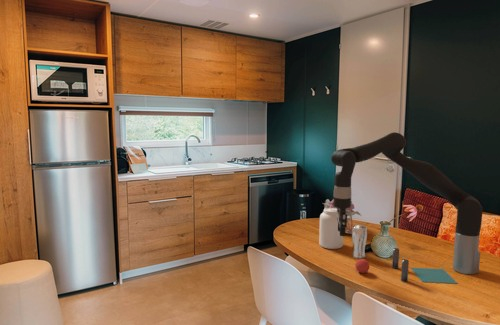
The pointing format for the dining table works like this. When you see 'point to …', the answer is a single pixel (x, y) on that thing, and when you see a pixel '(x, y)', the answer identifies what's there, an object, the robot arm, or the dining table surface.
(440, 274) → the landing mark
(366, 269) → the ball
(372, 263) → the dining table surface
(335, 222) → the white jar
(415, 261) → the dining table surface
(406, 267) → the post
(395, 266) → the post
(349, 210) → the flower
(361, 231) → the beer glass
